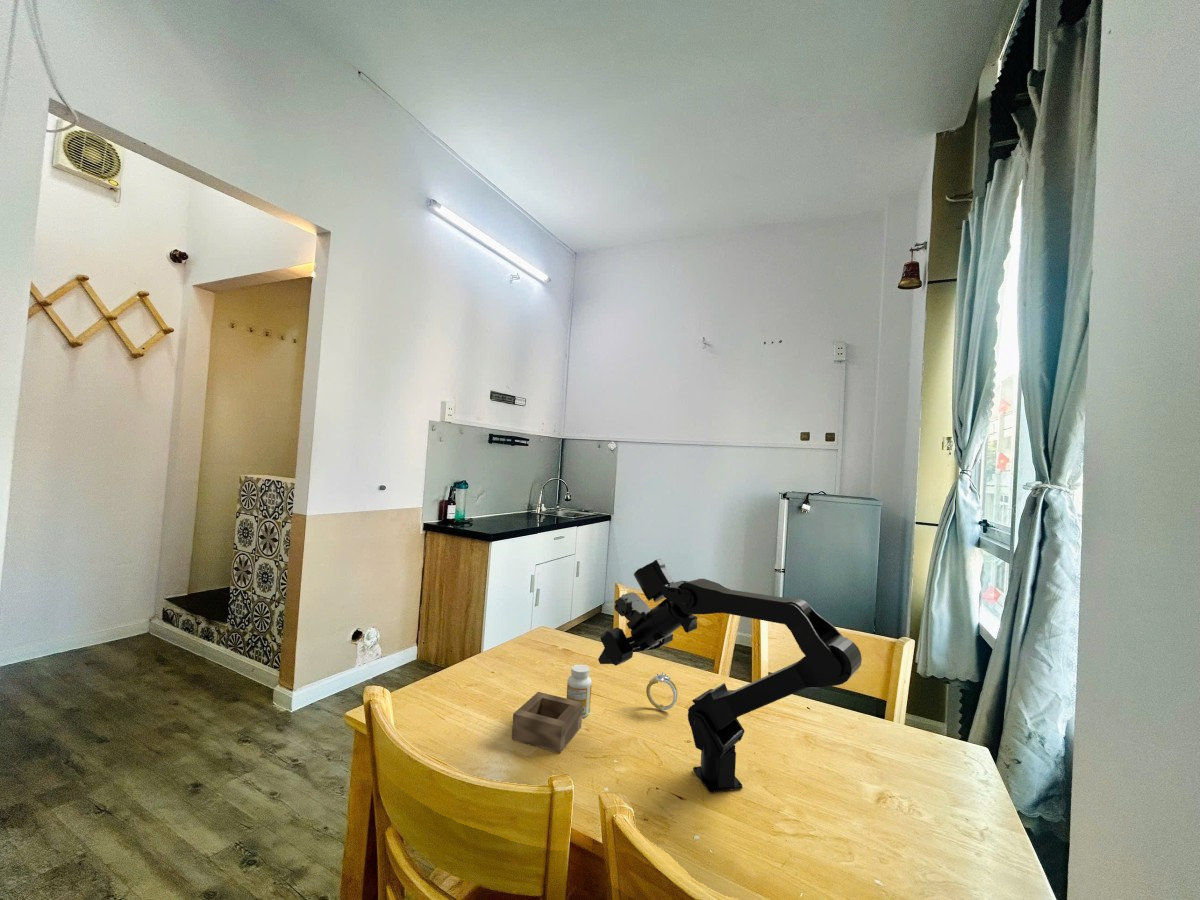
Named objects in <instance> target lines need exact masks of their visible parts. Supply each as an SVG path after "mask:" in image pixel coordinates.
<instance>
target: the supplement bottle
mask: <svg viewBox="0 0 1200 900" xmlns="http://www.w3.org/2000/svg"><path fill="white" fill-rule="evenodd" d="M570 672H571V673H570V674H571V675H570V676H569V677H568V678H567V681H566V682H567V683H566V697H565V698H566V699H570V700H574V701H579V702H583V709H582V719H584V718H586V717H588V716H589V715H590V713H591V703H592V701H591V699H592V686H593V685H592V683H593V682H592V678H591V677H590V667H589V666H588V665H585V664H575V665H573V666H571V670H570Z"/></svg>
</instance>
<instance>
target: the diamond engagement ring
mask: <svg viewBox="0 0 1200 900" xmlns="http://www.w3.org/2000/svg"><path fill="white" fill-rule="evenodd" d="M659 682H660V683H664V684H667V685H668V686H669V688H671V691H672V695H673V699H672V702H671V703H670V704H669V705H663V704H658V703H657V702H656V701H655V700H654V699H653V695H652V694H651V687H652V686H653V685H655V684H658V683H659ZM645 691H646V698H647V699H648V701H649V702H650V704H651V706H653V707H655V709H658V711H660V712H662V711H668V710H670V709H672V708H673V707H674V705H675V704H676V702H677V700H678V689H677V686H676V684H674V682H673V681H672V680H671V677H670V676H669V675H667V674H666V673H665V674H664V672H661V674H659V673H656V675H655V676H653V677H652V678H651V679H650V680H649V682H648V684H647V685H646V688H645Z"/></svg>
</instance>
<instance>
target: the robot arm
mask: <svg viewBox="0 0 1200 900" xmlns="http://www.w3.org/2000/svg"><path fill="white" fill-rule="evenodd" d="M633 577H634V578H635V579H636V582H637V584H638V585H639V587H640V589H641V590H642V592H643V595H644V596H645V598H646V600H648V602H649V601H651V600H653V602H654V603H657V602H660V601H661V600H662V601H661V602H660V603H658V604H656V606H655V607H653V608H650V607H649V606H648V604H647V603H646V602H645V601H644V600H643V599H642V598H641V597H640V596H639V595H638V594H637V593H635V592H633V591H632V592H627V593H624V594H622V595H621V596H619V597H618V599H615V600H614V605H613V606H614V610H615V612H616V613H618V615H619V616H621V617H624V618H625V619H626V620H627V621H628V622H626V627H627V628H628V630H630V635H631V636H629V637H627V636H626V634H625V632H624V630H623V629H622V628H619V627H618V626H617V627H614V628H612V629H608V630H606V631H604V633H602V634H601V635H600V637H599V638H600V641H601V643H602V645H603V650H602V652H601V653H600V655H599V657H598V658H597V659H598V660H597V661H598V662H599V665H613V666H619V665H621V664H624V663H625V662H627V661H629V660H631V659H632V658H633V654H634V653H638V652H644V651H652V650H656V649H659V648H661V647H664V646H665V645H668V644H669V643H671V642H672V641H673V640H674V633H673V632H675V631H676V630H677V629H679V628H681V627H682V629H683V631H684V632H685V633H687V634H688V633H690V632H692V631H695V630H697V629H698V622H697V621H698V617H697V616H698V615H711V614H728V615H732V616H736V617H737V616H738V617H741V618H742V617H744V618H748V619H752V620H758V621H765V622H769V623H776V624H780V625H785V626H786V628H787V629H788V630H789V631H790V632H791V634H792V636H793V638H794V640H795V642H796V644H797V646H798V647H799V650H800V651H801V652H802V654H804V656H803V657H802V658H800V659H799V660H798V661H796V662H794V663H791V664H789V665H787V666H785V667H782V668H780V669H778V670H776V671H774V672H772V673H770V674H768V675H765V676H763V677H761V678H759V679H757V680H754V681H752V682H750V683H748V684H746V685H744V686H741V687H739V688H737V689H734V690H733V689H732V690H731V689H729V690H728V688H727V685H726V683H725V682H724V683H721V684H720V685H718V686H717V687H715V688H709V689H708V690H706V691H704V692H703V693H702V694H700V695H699V696H696V697H695V698H693V700H692V703H693V704H692V705H690V707H689V708H688V709H687V720H688V721H687V722H688V725H689V726H690V730H691V734H692V738H693V743H694V747H695V748H696V749H697V750H699V751H701V752H700V766H693V767H692V770H693V773H694V775H696V777H697V778H698V779H699V781H700V782H701V783H702V785H703V786H704V787H705V789H706V790H707V792H708V793H711V794H712V793H714V794H715V793H720V792H721V793H722V792H727V791H735V790H740V789H743V784H742V781H740V780H739V779H738V778H737V777H736V760H737V752H736V744H737V743H738V742H741V740H742V739H743V736H744V734H745V733H746V732H745V729H744V727H743V725H742V724H741V723H740V721H739V719H738V718H739V717H742V716H744V715H746V714H749V713H750V712H753V711H756V710H757V709H760V708H762V707H766V706H768V705H770V704H772V703H774V702H776V701H779V700H781V699H784V698H786V697H788V696H791V695H793V694H795V693H798V692H801V691H803V690H806V689H825V688H830V687H836V686H841V685H843V684H845V683H847V682H848V681H849V680H850V678H852V676H853V675H854V674H855V673H856V672H857V671H858V670H859V669H860V667H861V665H862V660H863V659H862V653H861V651H860V649H859V647H858V646H857V644H856V643H855V642H854V641H853V640H851V639H849V638H848V637H845V636H844V635H843V634H842V633H841V632H840V631H839V630H838V629H837V628H836V626H834V625H833V624H832V623H831V622H829V621H828V620H827V619H825V618H824V617H823V616H821V615H820V614H819V613H818V612H817V611H815V609H814V608H813V607H812V606H811V605H810V604H809V602H807V601H806V600H804V599H802V598H799V597H798V598H789V597H781V596H775V595H768V594H761V593H756V592H755V593H754V592H749V591H741V590H735V589H730V588H727V587H725V586H724V585H722V584H720V583H719V582H715V581H714V580H713V581H712V580H710V579H706V578H697V579H693V580H687V581H686V580H678V581H675V580H674V579H673V577H672V576H671V574H670V572H669V571H668V569H667V567H666V565H665V562H664V560H663V559H662V558H658V559H655V560H653V561H652V562H650V563H648V564H646V565H644V566H643V567H639V568H637V570H636V571H635V572H634V573H633Z"/></svg>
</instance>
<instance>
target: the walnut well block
mask: <svg viewBox="0 0 1200 900" xmlns="http://www.w3.org/2000/svg"><path fill="white" fill-rule="evenodd" d="M566 698H567V697H563V696H558V695H554V694H549V693H545V692H541V691H537V692H536V693H535V694H534V695H533V696H531V697H530V698H529V699H528V700H527V701H526V702H525V703H523V704H522V705H521V706H520V707H519V708H518V709H516V710H515V711H514V712H513V713H512V725H511V726H512V727H511V741H514V742H518V743H521V744H524V745H525V744H526V745H528V746H529V745H530V746H531V747H534V748H539V749H543V750H546V751H548V752H553V753H556V754H559V755H560V754H561V753H562V752H563V751H564V749H565V748H567V746H568V744H569V743H570V742H571V741H572V739H574V737H575V735H576V734H577V733H578V732H579V731H580V729H581V728H582V727H583V726H582V723H583V722H582V721H583V718H582V709H583V702H579V701H574V700H570V699H566Z"/></svg>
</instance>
